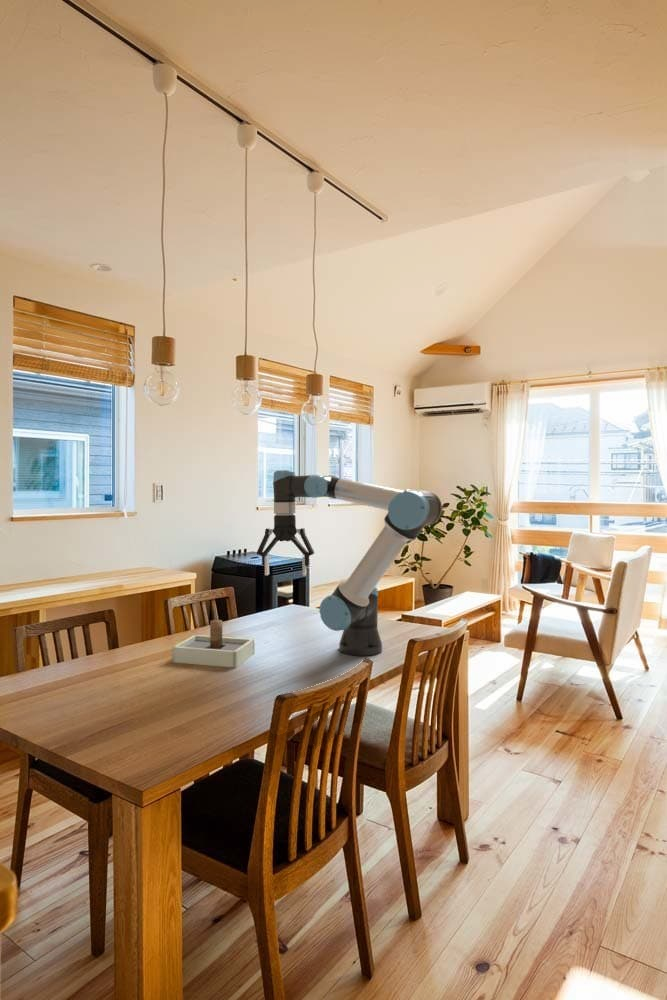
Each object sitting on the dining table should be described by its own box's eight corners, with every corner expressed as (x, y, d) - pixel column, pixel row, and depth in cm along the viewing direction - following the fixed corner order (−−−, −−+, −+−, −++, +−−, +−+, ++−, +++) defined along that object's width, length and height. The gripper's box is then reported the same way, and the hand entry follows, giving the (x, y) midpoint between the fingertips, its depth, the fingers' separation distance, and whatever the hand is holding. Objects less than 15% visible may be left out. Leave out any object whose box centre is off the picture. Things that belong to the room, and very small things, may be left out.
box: (254, 653, 207) (254, 639, 207) (235, 667, 191) (236, 652, 191) (195, 649, 212) (195, 634, 212) (172, 662, 197) (172, 647, 196)
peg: (219, 658, 201) (219, 622, 200) (208, 657, 202) (208, 622, 201) (224, 655, 205) (224, 620, 204) (213, 654, 206) (213, 619, 205)
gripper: (321, 513, 213) (322, 574, 214) (254, 514, 218) (255, 573, 219) (317, 514, 206) (318, 577, 206) (247, 515, 211) (248, 576, 211)
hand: (285, 575), depth 213 cm, fingers open, 13 cm apart
